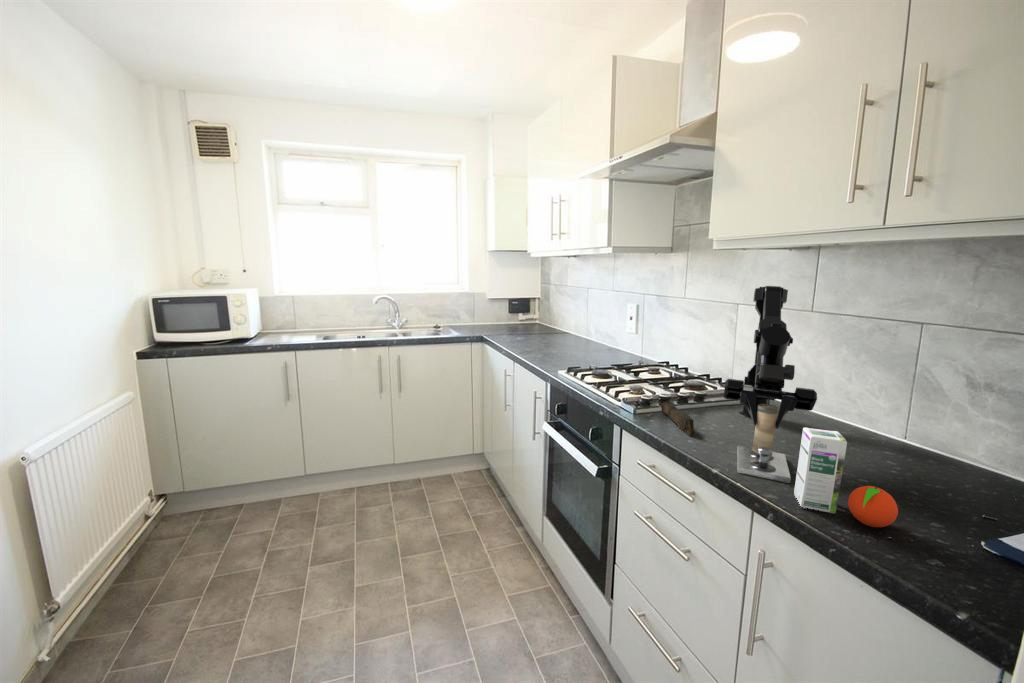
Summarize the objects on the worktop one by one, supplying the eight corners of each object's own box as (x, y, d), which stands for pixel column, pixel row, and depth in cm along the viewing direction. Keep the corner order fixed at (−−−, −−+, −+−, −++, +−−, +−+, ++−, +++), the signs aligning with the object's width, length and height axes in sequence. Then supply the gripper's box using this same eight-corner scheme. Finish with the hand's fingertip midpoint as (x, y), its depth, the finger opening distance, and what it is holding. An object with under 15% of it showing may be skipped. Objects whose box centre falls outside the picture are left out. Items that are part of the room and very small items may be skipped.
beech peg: (757, 446, 107) (763, 402, 105) (775, 452, 104) (781, 407, 102) (748, 450, 104) (754, 405, 102) (767, 456, 101) (773, 410, 99)
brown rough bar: (660, 413, 137) (661, 398, 136) (673, 413, 136) (674, 399, 136) (680, 437, 118) (681, 421, 117) (695, 438, 118) (697, 421, 117)
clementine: (883, 542, 74) (891, 503, 73) (835, 522, 80) (842, 485, 79) (900, 527, 79) (907, 490, 78) (854, 509, 84) (860, 474, 83)
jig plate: (737, 449, 110) (739, 429, 109) (784, 458, 106) (787, 437, 105) (737, 472, 98) (740, 449, 97) (789, 483, 94) (793, 459, 93)
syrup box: (800, 508, 84) (811, 436, 82) (792, 493, 90) (803, 425, 87) (835, 514, 82) (848, 441, 80) (826, 499, 88) (837, 429, 85)
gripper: (729, 346, 107) (723, 402, 100) (822, 355, 99) (822, 417, 91) (726, 370, 116) (720, 424, 108) (811, 381, 108) (811, 440, 100)
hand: (766, 426), depth 102 cm, fingers open, 4 cm apart
